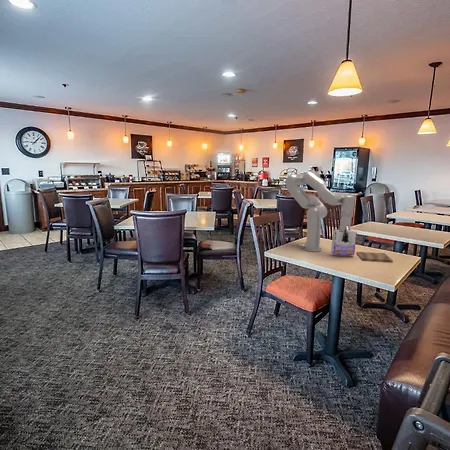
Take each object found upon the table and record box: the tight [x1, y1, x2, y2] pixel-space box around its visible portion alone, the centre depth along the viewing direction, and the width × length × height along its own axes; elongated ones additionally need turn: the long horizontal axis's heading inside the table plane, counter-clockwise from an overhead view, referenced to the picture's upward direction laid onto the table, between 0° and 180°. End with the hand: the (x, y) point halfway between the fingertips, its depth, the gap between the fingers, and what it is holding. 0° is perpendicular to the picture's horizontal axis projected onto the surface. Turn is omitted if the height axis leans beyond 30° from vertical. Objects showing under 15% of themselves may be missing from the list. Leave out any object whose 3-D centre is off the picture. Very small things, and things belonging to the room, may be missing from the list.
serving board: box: [355, 251, 393, 263], centre depth 198 cm, size 18×16×2 cm
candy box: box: [330, 228, 358, 256], centre depth 201 cm, size 14×6×16 cm, turn 84°
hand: (343, 239), depth 200 cm, fingers closed on candy box, 6 cm apart
